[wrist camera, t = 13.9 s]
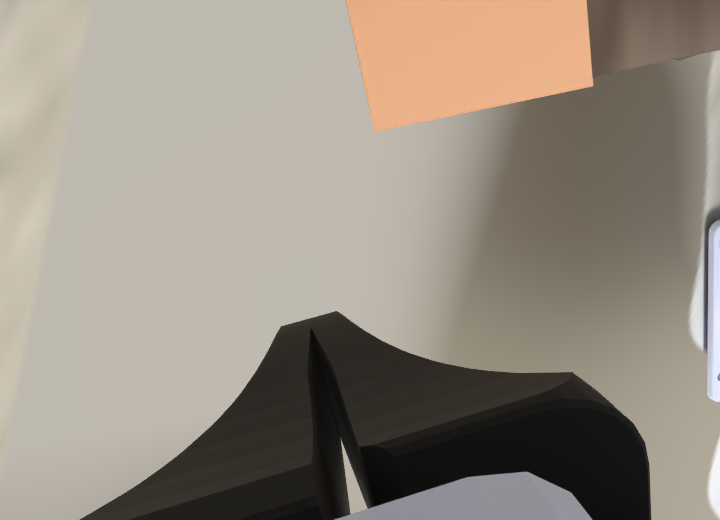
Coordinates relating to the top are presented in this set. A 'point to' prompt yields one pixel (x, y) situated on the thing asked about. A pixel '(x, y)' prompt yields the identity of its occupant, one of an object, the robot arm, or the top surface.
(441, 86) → the peach block
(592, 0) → the domino block
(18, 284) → the top surface
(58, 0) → the top surface
